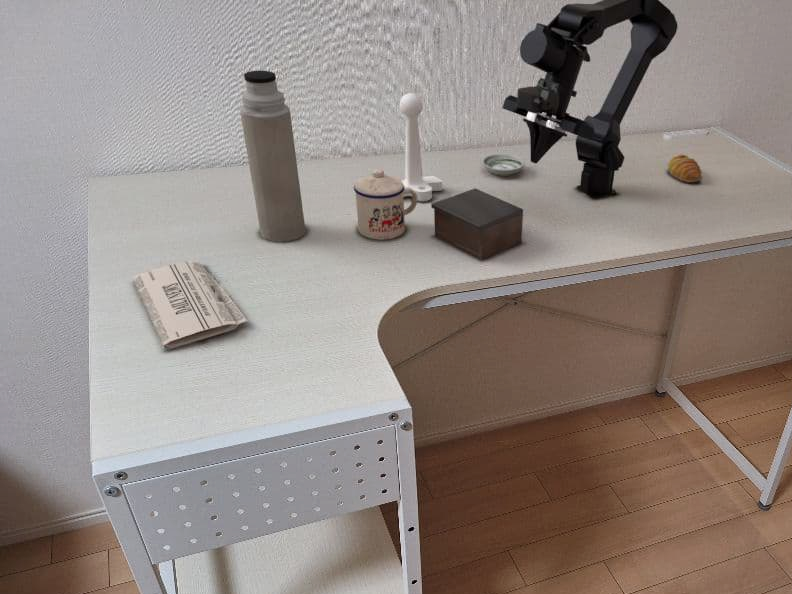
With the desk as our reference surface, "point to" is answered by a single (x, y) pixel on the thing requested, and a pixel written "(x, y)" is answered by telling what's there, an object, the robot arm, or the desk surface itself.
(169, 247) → the desk surface
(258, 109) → the thermos bottle
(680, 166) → the pastry
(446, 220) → the wooden box
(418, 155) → the joystick
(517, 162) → the saucer
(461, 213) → the dark grey flat tile
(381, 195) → the teacup with lid
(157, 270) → the newspaper
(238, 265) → the desk surface
